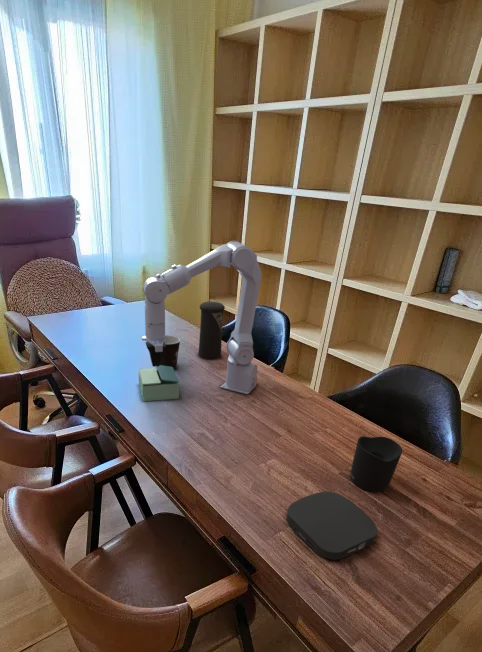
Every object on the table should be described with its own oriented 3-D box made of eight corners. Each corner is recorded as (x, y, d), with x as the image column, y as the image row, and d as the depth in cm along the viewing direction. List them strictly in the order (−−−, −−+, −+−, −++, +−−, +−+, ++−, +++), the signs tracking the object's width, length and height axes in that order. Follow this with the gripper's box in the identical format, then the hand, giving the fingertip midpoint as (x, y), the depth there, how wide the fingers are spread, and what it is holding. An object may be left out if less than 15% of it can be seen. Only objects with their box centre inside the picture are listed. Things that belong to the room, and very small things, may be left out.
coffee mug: (168, 373, 146) (168, 346, 141) (150, 366, 150) (149, 339, 145) (189, 363, 154) (190, 337, 149) (171, 357, 158) (172, 331, 153)
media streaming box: (331, 495, 95) (333, 485, 93) (383, 540, 84) (387, 529, 82) (278, 515, 88) (280, 505, 87) (327, 567, 77) (330, 555, 76)
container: (221, 360, 158) (225, 307, 147) (197, 359, 158) (199, 305, 147) (221, 351, 165) (224, 300, 155) (197, 350, 165) (200, 299, 155)
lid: (172, 368, 137) (172, 366, 137) (178, 382, 128) (179, 381, 128) (156, 365, 135) (156, 364, 135) (161, 380, 126) (161, 379, 126)
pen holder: (357, 463, 105) (366, 429, 100) (395, 479, 100) (407, 445, 95) (341, 481, 99) (351, 446, 94) (381, 499, 94) (394, 463, 89)
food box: (172, 383, 140) (172, 366, 137) (178, 398, 131) (179, 381, 128) (139, 385, 137) (138, 368, 134) (143, 401, 128) (142, 384, 125)
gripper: (138, 314, 127) (139, 357, 134) (144, 330, 115) (145, 376, 122) (161, 314, 129) (162, 355, 136) (169, 329, 117) (169, 374, 124)
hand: (155, 365), depth 129 cm, fingers closed
